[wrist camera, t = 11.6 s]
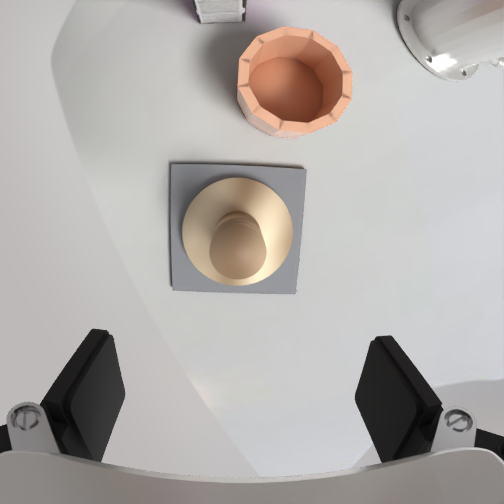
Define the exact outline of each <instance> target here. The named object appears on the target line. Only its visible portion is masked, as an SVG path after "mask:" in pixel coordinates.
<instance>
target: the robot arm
mask: <svg viewBox="0 0 504 504" xmlns="http://www.w3.org/2000/svg"><path fill="white" fill-rule="evenodd" d="M397 21H398V25H399V29H400V32H401V34H402V37H403V39H404V41H405V43H406V45H407V46H408V48H409V49H410V51H411V52H412V54H413V55H414V56H415V57H416V58H417V60H418V61H419V62H420V63H421V64H422V65H423V66H424V67H425V68H427V69H428V70H429V71H430V72H432V73H433V74H435V75H436V76H438V77H441V78H443V79H445V80H449V81H462V80H466V79H468V78H470V77H471V76H473V75H474V74H475V72H476V71H477V69H478V66H479V63H483V62H484V63H486V64H489V63H491V64H492V65H494V66H496V67H497V68H499V69H501V70H504V0H401V2H400V4H399V6H398V10H397ZM124 398H125V388H124V384H123V381H122V377H121V372H120V367H119V363H118V358H117V353H116V348H115V343H114V338H113V336H112V335H109V332H108V331H107V330H100V329H92V330H91V331H90V332H89V334H88V335H87V336H86V338H85V339H84V340H83V342H82V343H81V345H80V346H79V348H78V349H77V350H76V352H75V353H74V354H73V356H72V357H71V359H70V360H69V362H68V363H67V364H66V366H65V367H64V369H63V370H62V372H61V373H60V374H59V376H58V377H57V379H56V380H55V382H54V383H53V385H52V386H51V388H50V389H49V391H48V393H47V394H46V396H45V397H44V399H43V400H42V402H41V403H40V405H38V404H36V403H33V402H24V403H21V404H18V405H16V406H14V407H13V408H12V409H11V410H10V411H9V413H8V415H7V424H6V425H2V426H0V504H504V437H503V436H500V435H496V434H493V433H490V432H487V431H484V430H481V429H477V428H476V427H477V423H476V419H475V417H474V415H473V414H472V413H471V412H470V411H468V410H466V409H464V408H462V407H457V406H453V407H448V408H446V409H445V410H443V408H442V407H441V405H442V402H441V401H440V400H439V398H438V397H437V395H436V394H435V393H434V391H433V390H432V388H431V387H430V386H429V384H428V383H427V382H426V380H425V379H424V378H423V376H422V375H421V373H420V372H419V371H418V369H417V368H416V367H415V365H414V364H413V363H412V362H411V360H410V359H409V358H408V356H407V355H406V354H405V352H404V351H403V350H402V348H401V347H400V346H399V345H398V343H397V342H396V341H395V339H394V338H393V337H392V336H390V335H389V336H377V337H376V338H375V340H373V341H371V343H370V346H369V350H368V353H367V357H366V360H365V364H364V367H363V371H362V374H361V377H360V380H359V384H358V387H357V390H356V393H355V402H356V404H357V407H358V409H359V411H360V413H361V416H362V418H363V420H364V423H365V425H366V427H367V429H368V432H369V434H370V436H371V439H372V441H373V443H374V445H375V448H376V450H377V453H378V455H379V457H380V460H381V462H382V463H380V464H375V465H371V466H366V467H360V468H354V469H348V470H341V471H334V472H327V473H318V474H309V475H298V476H284V477H261V478H226V477H202V476H189V475H178V474H169V473H160V472H153V471H146V470H140V469H133V468H127V467H122V466H116V465H111V464H105V463H101V461H102V458H103V455H104V452H105V449H106V446H107V444H108V441H109V438H110V436H111V433H112V430H113V427H114V424H115V422H116V419H117V417H118V414H119V412H120V409H121V406H122V404H123V401H124Z"/></svg>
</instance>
